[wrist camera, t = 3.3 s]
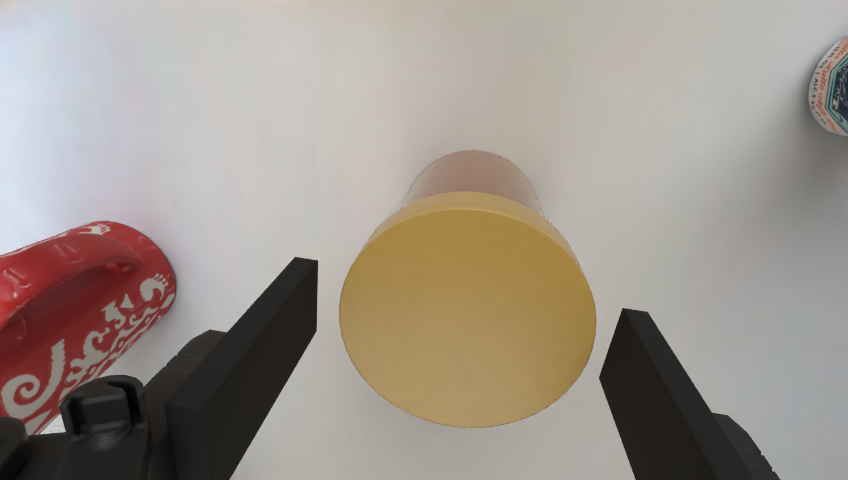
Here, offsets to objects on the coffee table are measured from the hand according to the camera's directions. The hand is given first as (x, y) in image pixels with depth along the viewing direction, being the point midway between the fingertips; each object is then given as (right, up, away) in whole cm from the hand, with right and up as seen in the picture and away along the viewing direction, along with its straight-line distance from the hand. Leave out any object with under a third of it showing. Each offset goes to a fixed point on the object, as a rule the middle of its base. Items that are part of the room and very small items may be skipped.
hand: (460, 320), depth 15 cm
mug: (-19, +2, +14) cm, 24 cm away
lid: (0, 0, 0) cm, 0 cm away
